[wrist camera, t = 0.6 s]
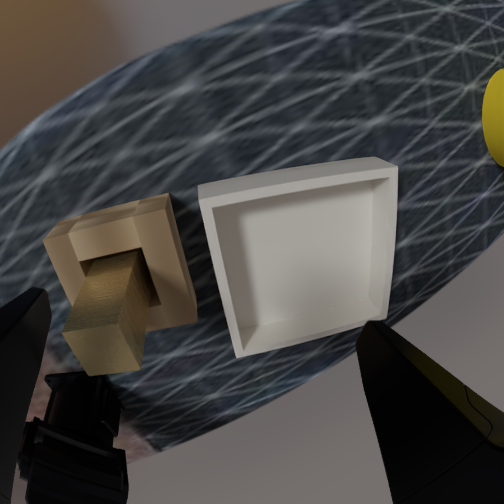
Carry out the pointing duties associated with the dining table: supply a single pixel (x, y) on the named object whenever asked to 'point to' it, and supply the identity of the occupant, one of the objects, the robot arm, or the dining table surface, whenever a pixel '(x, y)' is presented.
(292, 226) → the tray
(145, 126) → the dining table surface
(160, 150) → the dining table surface
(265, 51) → the dining table surface
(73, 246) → the block
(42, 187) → the dining table surface
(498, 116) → the yellow toilet paper roll
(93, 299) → the pin
